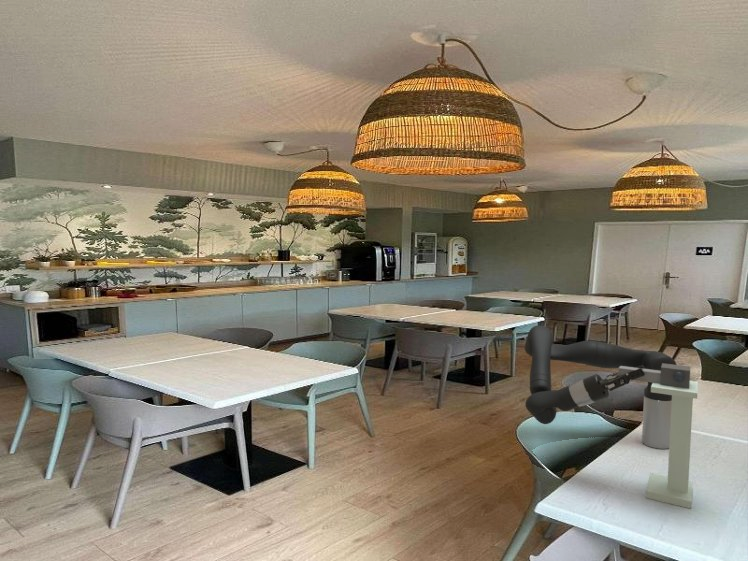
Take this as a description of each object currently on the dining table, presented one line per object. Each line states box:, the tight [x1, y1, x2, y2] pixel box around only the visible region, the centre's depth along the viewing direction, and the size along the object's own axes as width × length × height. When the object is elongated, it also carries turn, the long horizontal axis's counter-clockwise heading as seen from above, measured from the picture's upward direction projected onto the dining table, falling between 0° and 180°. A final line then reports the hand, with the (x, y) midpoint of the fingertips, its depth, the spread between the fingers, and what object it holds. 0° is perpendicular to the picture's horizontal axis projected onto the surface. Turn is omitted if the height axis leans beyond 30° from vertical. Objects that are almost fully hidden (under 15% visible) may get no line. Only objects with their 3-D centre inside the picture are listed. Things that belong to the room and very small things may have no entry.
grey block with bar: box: [617, 363, 691, 389], centre depth 149 cm, size 7×18×5 cm, turn 57°
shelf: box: [645, 380, 699, 509], centre depth 147 cm, size 14×11×32 cm
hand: (643, 370), depth 150 cm, fingers closed on grey block with bar, 3 cm apart
